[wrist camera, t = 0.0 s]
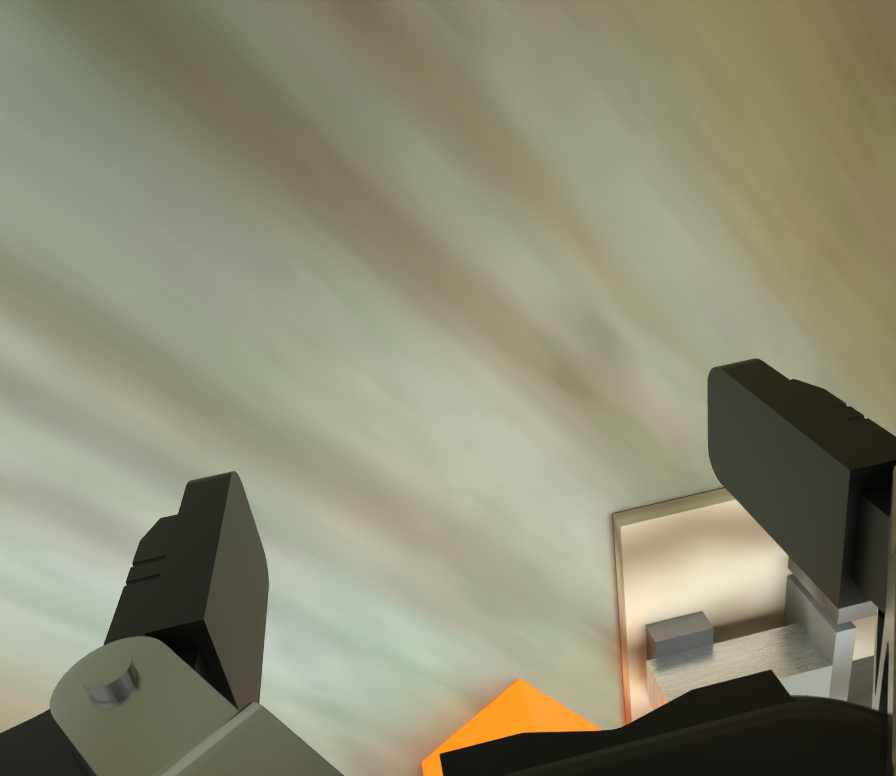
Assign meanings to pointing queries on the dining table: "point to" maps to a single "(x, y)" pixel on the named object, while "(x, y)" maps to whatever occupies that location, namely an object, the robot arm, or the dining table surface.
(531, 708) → the orange juice
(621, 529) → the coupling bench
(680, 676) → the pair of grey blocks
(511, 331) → the dining table surface
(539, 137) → the dining table surface
